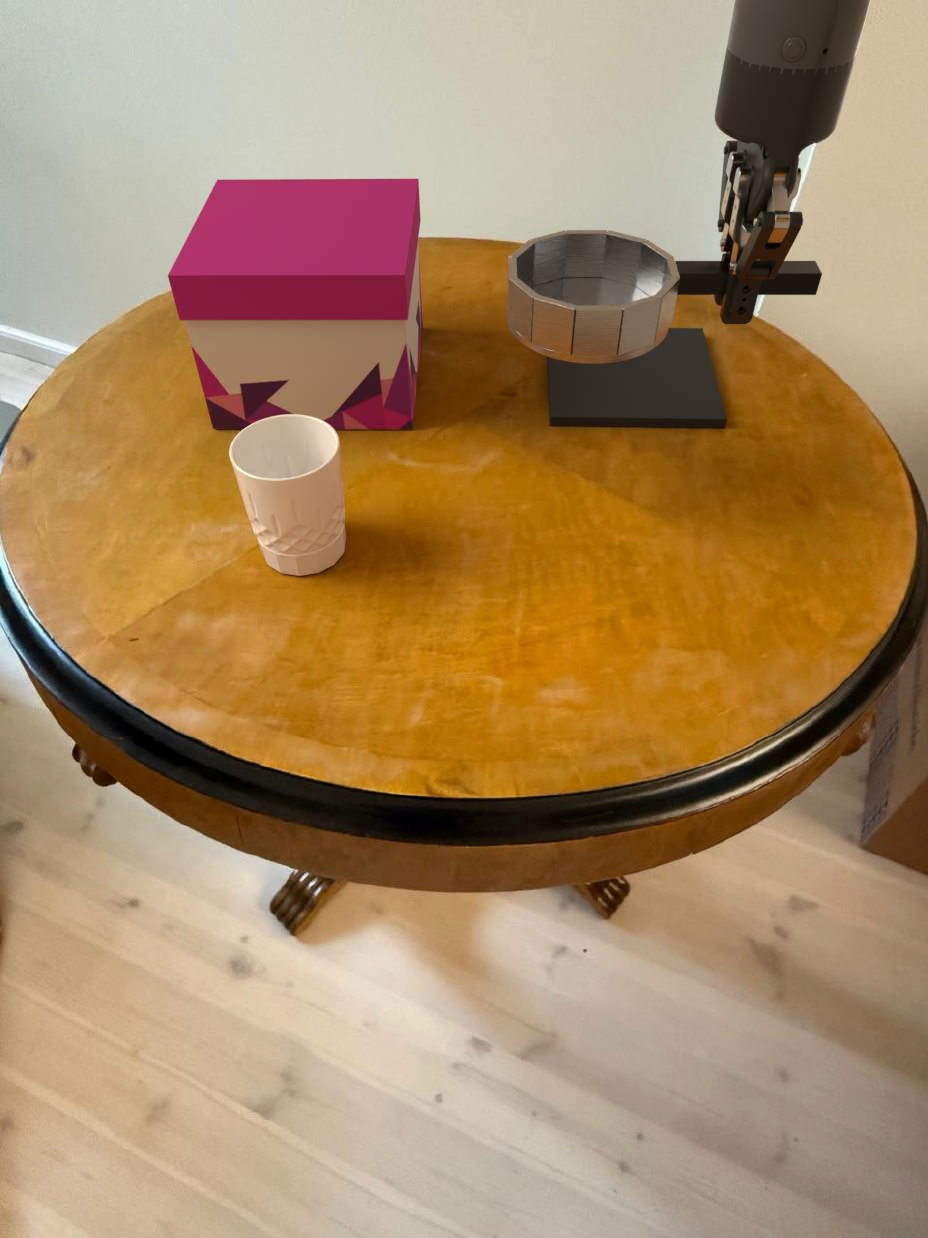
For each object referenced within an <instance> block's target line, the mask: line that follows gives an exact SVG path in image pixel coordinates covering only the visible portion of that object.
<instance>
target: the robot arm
mask: <svg viewBox="0 0 928 1238" xmlns="http://www.w3.org/2000/svg"><path fill="white" fill-rule="evenodd" d="M871 1H872V0H734V5H733V9H732V10H733V11H732V16H731V21H730V26H729V32H728V37H727V44H726V48H725V54H724V59H723V60H724V61H723V65H722V70H721V77H720V81H719V88H718V93H717V99H716V104H715V110H714V123H715V125H716V127H717V128H718V129H719V131H721V132H722V133H723V134H724V135H726V136H728V137H729V138H731V139H733V140H726V142H725V144H724V145H725V146H723V164H722V175H721V187H720V198H719V201H720V202H719V209H718V219H717V223H716V226H717V231H718V233H722V234H721V238H720V240H719V247H720V251H721V252H722V255H721V259H720V261H730V263H729V275H728V279H727V284H726V289H725V293H724V295H713V299H714V302H715V304H716V306H718V307H720V312H719V317H720V320H721V322H722V323H723V324H724V325H746V324H749V323H751V321H752V319H753V316H754V313H755V310H756V309H755V308H756V304H757V300H758V297H759V295H758V293H759V289H760V284H761V280H762V279H775V277H776V275H777V273H778V271H779V270H780V268H781V266H782V264H783V262H784V261H786V258H787V256H788V254H789V252H790V251H791V248H792V246H793V244H794V243H795V241H796V239H797V237H798V235H799V233H800V232H801V229H802V226H803V224H804V218H803V212H802V211H791V205H792V202H793V200H794V199H795V198H796V197H797V195H798V192H799V188H800V183H801V179H802V168H801V167H800V166H799V165H800V155H801V153H802V151H804V150H805V149H807V148H808V147H809V146H811V145H814V144H818V143H822V142H823V141H825V140H826V139H828V138H829V137H831V135H832V134H833V133H834V132H835V131H836V129H837V126H838V123H839V119H840V116H841V112H842V109H843V104H844V101H845V97H846V93H847V90H848V87H849V83H850V79H851V75H852V72H853V68H854V65H855V61H856V57H857V54H858V50H859V46H860V43H861V39H862V36H863V32H864V29H865V25H866V21H867V17H868V14H869V9H870V6H871Z"/></svg>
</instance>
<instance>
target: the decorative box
mask: <svg viewBox="0 0 928 1238" xmlns="http://www.w3.org/2000/svg"><path fill="white" fill-rule="evenodd" d="M420 199H421V198H420V181H419V178H293V179H292V178H285V179H284V178H275V179H274V178H272V179H271V178H268V179H267V178H265V179H262V178H261V179H259V178H258V179H257V178H255V179H254V178H253V179H250V178H249V179H248V178H247V179H243V178H242V179H217V180H216V181H215V183H214V186H213V187H212V189H211V191H210V193H209V195H208V197H207V198H206V200H205V202H204V205H203V207H202V209H201V211H200V212H199V214H198V216H197V218H196V220H195V222H194V223H193V226H192V228H191V230H190V231H189V233H188V235H187V237H186V239H185V242H184V243H183V245H182V247H181V249H180V251H179V253H178V255H177V256H176V258H175V260H174V262H173V264H172V267H171V268H170V270H169V272H168V274H167V279H168V282H169V285H170V289H171V293H172V297H173V300H174V304H175V308H176V311H177V316H178V318H179V319H178V320H179V321H184V324H185V329H186V332H187V335H188V339H189V344H190V346H191V350H192V354H193V358H194V363H195V365H196V369H197V373H198V377H199V381H200V384H201V388H202V392H203V395H204V400H205V403H206V407H207V411H208V415H209V419H210V422H211V425H212V426H211V427H212V430H243V429H244V428H246V427H247V426H249V425H251V424H253V423H255V422H257V421H259V420H262V419H265V418H268V417H272V416H277V415H285V414H300V415H307V416H312V417H315V418H318V419H321V420H323V421H325V422H326V423H328V424H329V425H331V426H332V427H333V428H334V429H335V430H413V425H414V424H413V423H414V413H415V405H416V395H417V385H418V375H419V366H420V356H421V347H422V340H423V339H422V337H423V329H424V322H423V321H424V320H423V303H422V285H421V263H420V262H421V261H420V247H419V246H420V244H419V243H420V242H419V237H420V227H421V202H420Z"/></svg>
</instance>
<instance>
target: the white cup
mask: <svg viewBox="0 0 928 1238" xmlns="http://www.w3.org/2000/svg"><path fill="white" fill-rule="evenodd" d="M228 450H229V451H228V456H229V460H230V463H231V466H232V469H233V472H234V477H235V478H236V482H237V485H238V488H239V492H240V495H241V499H242V502H243V505H244V508H245V511H246V514H247V517H248V520H249V523H250V525H251V528H252V530H253V531H252V532H253V534H254V536H255V537H256V539H257V544H258V545H259V546H258V547H259V550H260V553H261V554H262V557H263V558H264V562H265V564H266V565H267V566H269V567H270V568H272V569H273V570H275V571H277V572H279V573H280V574H282V575H283V574H284V575H290V576H295V577H297V576H298V577H302V576H310V575H314V574H315V575H316V574H319V573H321V572H323V571H325V570H327V569H329V568H330V567H333V566H334V565H335V564H337V562H338V561H339V560H340V559H341V558H342V556H343V555H344V554H345V552H346V543H347V533H346V523H345V522H346V506H345V489H344V478H343V477H344V476H343V467H342V455H341V454H342V453H341V442H340V437H339V434H338V432H337V431H336V429H334V428H333V427H332V426H331V425H329V424H328V423H326V422H325V421H323V420H321V419H318V418H315V417H312V416H307V415H300V414H285V415H277V416H272V417H268V418H265V419H262V420H259V421H257V422H255V423H253V424H251V425H249V426H247V427H246V428H244V429H241V431H239V432H238V433H237V434H236V435H235V437H233V440H232V441H231V442H230V445H229V449H228Z"/></svg>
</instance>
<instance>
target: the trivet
mask: <svg viewBox="0 0 928 1238" xmlns="http://www.w3.org/2000/svg"><path fill="white" fill-rule="evenodd" d="M546 368H547V392H548V393H547V395H548V419H549V421H548V422H549V427H554V426H555V427H612V428H613V427H615V428H617V427H618V428H622V427H623V428H682V429H683V428H687V429H688V428H689V429H725V428H726V425H727V421H728V419H727V415H726V411H725V406H724V402H723V399H722V395H721V393H720V388H719V384H718V380H717V378H716V377H717V376H716V373H715V370H714V366H713V362H712V358H711V355H710V351H709V346H708V343H707V340H706V336H705V332H704V328H703V327H669V329H668V332H667V335H666V337H665V338H664V339H663V341H662V342H661V343H660V344H659V345H658V346H657V347H655V348H654V349H652V350H651V351H649V352H647V353H645V354H643V355H640V356H638V357H635V358H632V359H628V360H624V361H619V362H612V363H598V364H589V363H576V362H568V361H563V360H558V359H554V358H551V357H548V356H546Z"/></svg>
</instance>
